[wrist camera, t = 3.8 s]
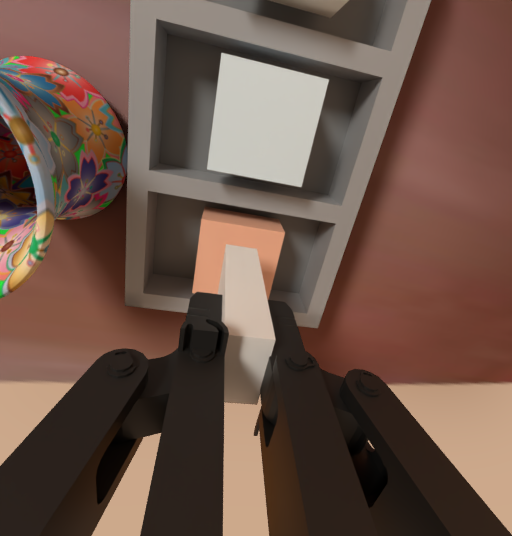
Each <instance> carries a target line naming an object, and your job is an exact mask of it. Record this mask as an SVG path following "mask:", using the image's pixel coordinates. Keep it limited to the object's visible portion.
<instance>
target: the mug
mask: <svg viewBox="0 0 512 536" xmlns="http://www.w3.org/2000/svg"><path fill="white" fill-rule="evenodd" d="M127 164H128V153H127V146H126V141H125V137H124V134H123V130H122V128H121V126H120V123H119V121H118V119H117V117H116V115H115V113H114V112H113V110H112V109H111V107H110V106H109V104H108V103H107V102H106V100H105V99H104V98H103V97H102V95H101V94H100V93H99V92H98V91H97V90H96V89H95V88H94V87H93V86H92V85H91V84H90V83H88V82H87V81H86V80H85V79H84V78H82V77H81V76H80V75H78V74H77V73H75V72H73V71H72V70H70V69H69V68H67V67H64V66H62V65H60V64H58V63H55V62H53V61H50V60H47V59H43V58H38V57H32V56H14V57H8V58H4V59H1V60H0V298H2V297H4V296H6V295H8V294H10V293H11V292H13V291H14V290H16V289H17V288H19V287H20V286H21V285H22V284H23V283H24V282H26V281H27V280H28V279H29V278H30V277H31V276H32V274H33V273H34V272H35V271H36V269H37V268H38V267H39V265H40V264H41V262H42V260H43V258H44V256H45V254H46V252H47V249H48V247H49V244H50V241H51V237H52V232H53V227H54V221H55V220H56V219H60V220H71V219H79V218H84V217H88V216H91V215H93V214H96V213H98V212H100V211H101V210H103V209H104V208H106V207H107V206H108V205H109V204H110V203H111V202H112V201H113V200H114V199H115V198H116V196H117V195H118V193H119V192H120V190H121V188H122V186H123V183H124V180H125V177H126V172H127Z"/></svg>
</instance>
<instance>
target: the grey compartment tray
mask: <svg viewBox="0 0 512 536" xmlns="http://www.w3.org/2000/svg"><path fill="white" fill-rule="evenodd" d="M430 3H431V0H349V1H348V2H347V3H346V4H345V5H344V6H343V7H342V8H341V9H340V10H338V11H337V12H336V13H335V14H334V15H333V16H332V17H331V18H329V17H325V16H322V15H318V14H315V13H311V12H308V11H304V10H301V9H297V8H294V7H290V6H286V5H283V4H279V3H276V2H272V1H269V0H131V11H130V62H129V113H128V165H127V216H126V267H125V306H132V307H141V308H149V309H158V310H166V311H175V312H183V313H187V311H188V306H189V301H190V298H191V297H192V296H193V295H194V294H195V293H192V290H193V282H194V274H195V266H196V258H197V251H198V243H199V235H200V227H201V219H202V215H203V212H204V208H205V207H210V208H216V209H222V210H228V211H234V212H239V213H245V214H251V215H257V216H263V217H268V218H274V219H279V221H280V223H281V225H282V227H283V229H284V231H285V235H284V239H283V243H282V247H281V251H280V255H279V259H278V263H277V267H276V271H275V275H274V279H273V283H272V287H271V291H270V295H269V299H268V300H274V301H282V302H286V304H287V305H288V306H289V307H290V308H291V309H292V311H293V314H294V317H295V320H296V323H297V326H302V327H311V328H318V326H319V323H320V320H321V317H322V314H323V311H324V309H325V306H326V303H327V300H328V297H329V294H330V291H331V288H332V285H333V283H334V280H335V277H336V274H337V271H338V268H339V265H340V262H341V260H342V257H343V254H344V251H345V248H346V245H347V242H348V239H349V236H350V234H351V231H352V228H353V225H354V222H355V219H356V216H357V213H358V210H359V208H360V205H361V202H362V199H363V196H364V193H365V190H366V187H367V184H368V182H369V179H370V176H371V173H372V170H373V167H374V164H375V161H376V158H377V156H378V153H379V150H380V147H381V144H382V141H383V138H384V135H385V132H386V130H387V127H388V124H389V121H390V118H391V115H392V112H393V109H394V106H395V104H396V101H397V98H398V95H399V92H400V89H401V86H402V83H403V80H404V78H405V75H406V72H407V69H408V66H409V63H410V60H411V57H412V54H413V52H414V49H415V46H416V43H417V40H418V37H419V34H420V31H421V29H422V26H423V23H424V20H425V17H426V14H427V11H428V8H429V5H430ZM221 53H225V54H229V55H233V56H237V57H241V58H245V59H249V60H253V61H257V62H261V63H265V64H269V65H273V66H277V67H281V68H285V69H289V70H293V71H297V72H301V73H305V74H309V75H313V76H317V77H321V78H325V79H329V82H328V86H327V90H326V94H325V98H324V101H323V105H322V109H321V113H320V117H319V121H318V125H317V129H316V132H315V136H314V140H313V144H312V148H311V152H310V156H309V160H308V164H307V167H306V171H305V175H304V179H303V183H302V187H297V186H292V185H287V184H281V183H276V182H271V181H266V180H260V179H255V178H250V177H245V176H239V175H234V174H229V173H224V172H218V171H213V170H208V169H207V165H208V157H209V149H210V141H211V133H212V125H213V117H214V109H215V101H216V93H217V85H218V77H219V69H220V61H221Z"/></svg>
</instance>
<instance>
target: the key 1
mask: <svg viewBox="0 0 512 536" xmlns="http://www.w3.org/2000/svg"><path fill="white" fill-rule="evenodd" d="M284 235H285V231H284V229H283V227H282V225H281V223H280V221H279V219H274V218H268V217H263V216H257V215H251V214H245V213H239V212H234V211H228V210H222V209H216V208H210V207H205V208H204V212H203V215H202V219H201V227H200V235H199V243H198V251H197V258H196V266H195V274H194V282H193V290H192V293H196V292H204V293H212V294H218V288H219V282H220V276H221V270H222V264H223V259H224V253H225V247H226V244H228V245H235V246H241V247H248V248H255V249H257V251H258V256H259V261H260V266H261V271H262V276H263V280H264V285H265V290H266V295H267V300H268V299H269V295H270V291H271V287H272V283H273V279H274V275H275V271H276V267H277V263H278V259H279V255H280V251H281V247H282V243H283V239H284Z"/></svg>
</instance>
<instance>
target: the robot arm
mask: <svg viewBox="0 0 512 536" xmlns="http://www.w3.org/2000/svg"><path fill="white" fill-rule="evenodd" d="M260 395H261V404H262V406H261V410H260V413H259V416H258V419H257V423H256V426H255V430H254V436H257V435H258V431H260V441H261V452H262V463H263V473H264V484H265V495H266V505H267V516H268V527H269V536H512V535H511V534H510V532H509V531H508V530H507V529H506V528H505V527H504V525H503V524H502V523H501V522H500V520H499V519H498V518H497V517H496V516H495V514H494V513H493V512H492V511H491V510H490V508H489V507H488V506H487V505H486V504H485V502H484V501H483V500H482V499H481V498H480V496H479V495H478V494H477V493H476V492H475V490H474V489H473V488H472V487H471V486H470V484H469V483H468V482H467V481H466V480H465V478H464V477H463V476H462V475H461V474H460V473H459V471H458V470H457V469H456V468H455V466H454V465H453V464H452V463H451V462H450V461H449V459H448V458H447V457H446V456H445V454H444V453H443V452H442V451H441V450H440V448H439V447H438V446H437V445H436V444H435V443H434V441H433V440H432V439H431V438H430V436H429V435H428V434H427V433H426V432H425V431H424V429H423V428H422V427H421V426H420V424H419V423H418V422H417V421H416V419H415V418H414V417H413V416H412V415H411V413H410V412H409V411H408V410H407V409H406V407H405V406H404V405H403V404H402V403H401V402H400V400H399V399H398V398H397V397H396V396H395V394H394V393H393V392H392V391H391V389H390V388H389V387H388V386H387V385H386V384H385V383H384V382H383V381H382V380H381V379H380V378H379V377H377V376H376V375H374V374H373V373H371V372H368V371H365V370H359V369H354V370H351V371H349V372H348V373H347V375H346V376H345V378H343V377H340V376H337V375H334V374H331V373H328V372H326V371H324V370H322V369H320V367H319V364H318V363H317V361H316V359H315V358H314V357H313V356H312V355H311V354H309V353H308V352H306V351H305V349H304V345H303V342H302V339H301V336H300V333H299V330H298V327H297V323H296V320H295V317H294V314H293V311H292V309H291V308H290V307H289V306H288V305H287V304H286V302H282V301H274V300H267V295H266V290H265V285H264V280H263V276H262V271H261V266H260V261H259V256H258V251H257V249H255V248H248V247H241V246H235V245H228V244H226V247H225V253H224V259H223V264H222V270H221V276H220V282H219V288H218V294H212V293H204V292H196V293H195V294H194V295H193V296H192V297H191V298H190V301H189V306H188V311H187V316H186V321H185V322H184V323H183V325H182V327H181V329H180V338H179V347H178V348H177V350H176V351H174V352H173V353H171V354H169V355H167V356H165V357H161V358H156V359H149V360H148V359H147V358H146V357H145V356H144V354H143V353H141V352H139V351H136V350H133V349H117V350H113V351H110V352H108V353H105V354H104V355H102V356H101V357H100V358H99V359H97V360H96V361H95V362H94V364H93V365H92V366H91V367H90V368H89V369H88V370H87V371H86V372H85V373H84V375H83V376H82V377H81V378H80V379H79V380H78V381H77V382H76V383H75V384H74V386H73V387H72V388H71V389H70V390H69V391H68V392H67V393H66V394H65V395H64V397H63V398H62V399H61V400H60V401H59V402H58V403H57V404H56V406H54V408H53V409H52V410H51V411H50V412H49V413H48V414H47V415H46V416H45V418H44V419H43V420H42V421H41V422H40V423H39V424H38V425H37V426H36V427H35V429H34V430H33V431H32V432H31V433H30V434H29V435H28V436H27V437H26V438H25V439H24V441H23V442H22V443H21V444H20V445H19V446H18V447H17V448H16V449H15V451H14V452H13V453H12V454H11V455H10V456H9V457H8V458H7V459H6V460H5V461H4V463H3V464H2V465H1V466H0V536H91V535H92V534H93V531H94V530H95V528H96V526H97V524H98V522H99V520H100V519H101V517H102V515H103V513H104V511H105V509H106V507H107V505H108V503H109V502H110V500H111V498H112V496H113V494H114V492H115V490H116V488H117V487H118V485H119V483H120V481H121V479H122V477H123V475H124V473H125V471H126V470H127V468H128V466H129V464H130V462H131V460H132V458H133V456H134V455H135V453H136V451H137V449H138V447H139V445H140V443H141V441H142V439H143V437H145V436H150V435H153V434H157V433H161V437H160V442H159V447H158V452H157V456H156V461H155V466H154V471H153V476H152V481H151V486H150V491H149V496H148V501H147V505H146V511H145V515H144V520H143V525H142V530H141V535H140V536H223V453H224V402H228V403H243V404H256V405H257V403H258V399H259V396H260ZM368 440H369V441H370V443H371V444H372V446H373V447H374V449H373V448H372V447H371V446H370V444H369V443H368Z"/></svg>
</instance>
